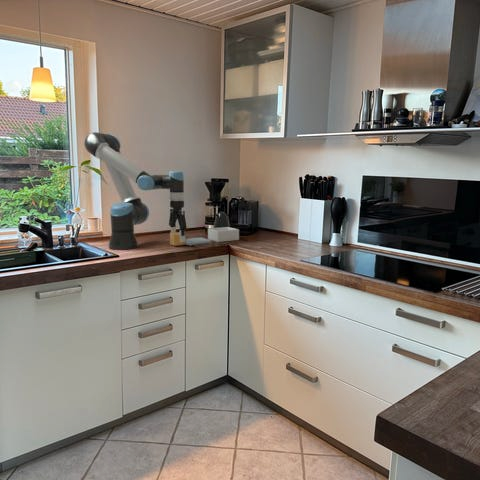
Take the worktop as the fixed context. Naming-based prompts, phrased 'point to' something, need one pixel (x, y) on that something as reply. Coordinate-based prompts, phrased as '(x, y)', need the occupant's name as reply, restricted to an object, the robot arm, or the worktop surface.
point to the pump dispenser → (221, 220)
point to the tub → (223, 234)
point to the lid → (186, 240)
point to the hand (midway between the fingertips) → (177, 240)
